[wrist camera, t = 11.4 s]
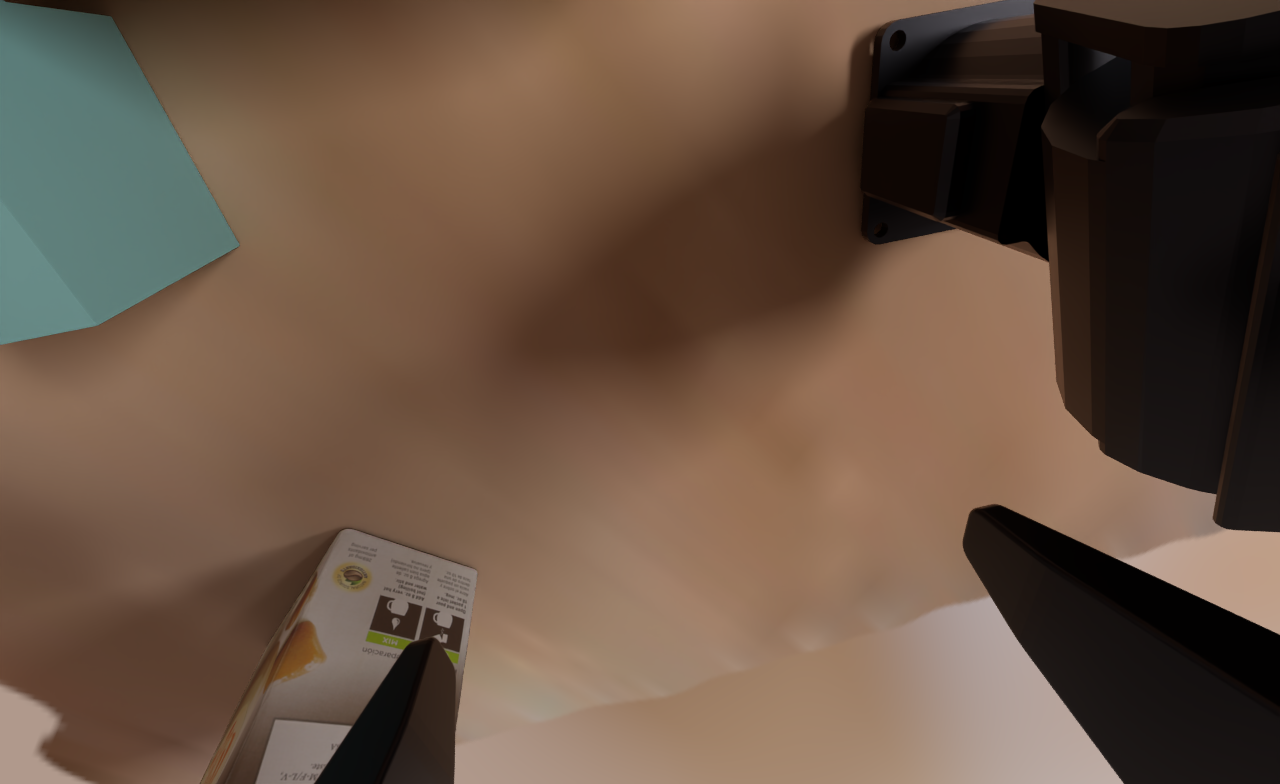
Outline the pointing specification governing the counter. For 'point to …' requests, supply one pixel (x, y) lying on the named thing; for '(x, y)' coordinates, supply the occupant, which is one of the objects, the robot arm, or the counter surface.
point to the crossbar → (89, 178)
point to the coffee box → (340, 656)
